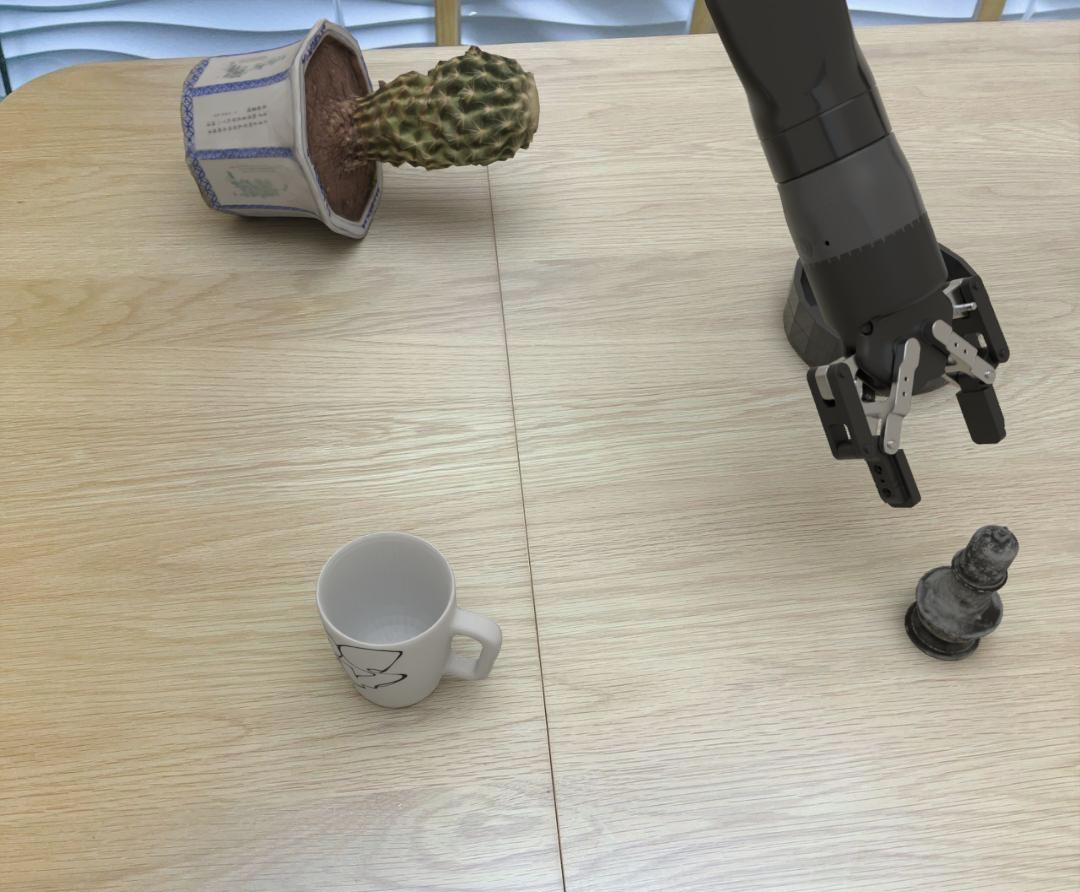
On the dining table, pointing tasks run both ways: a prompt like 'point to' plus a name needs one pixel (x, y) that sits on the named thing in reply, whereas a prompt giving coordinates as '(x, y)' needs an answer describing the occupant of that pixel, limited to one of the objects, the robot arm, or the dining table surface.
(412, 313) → the dining table surface
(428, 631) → the mug
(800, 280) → the pan
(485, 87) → the potted plant
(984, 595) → the grey chess piece
